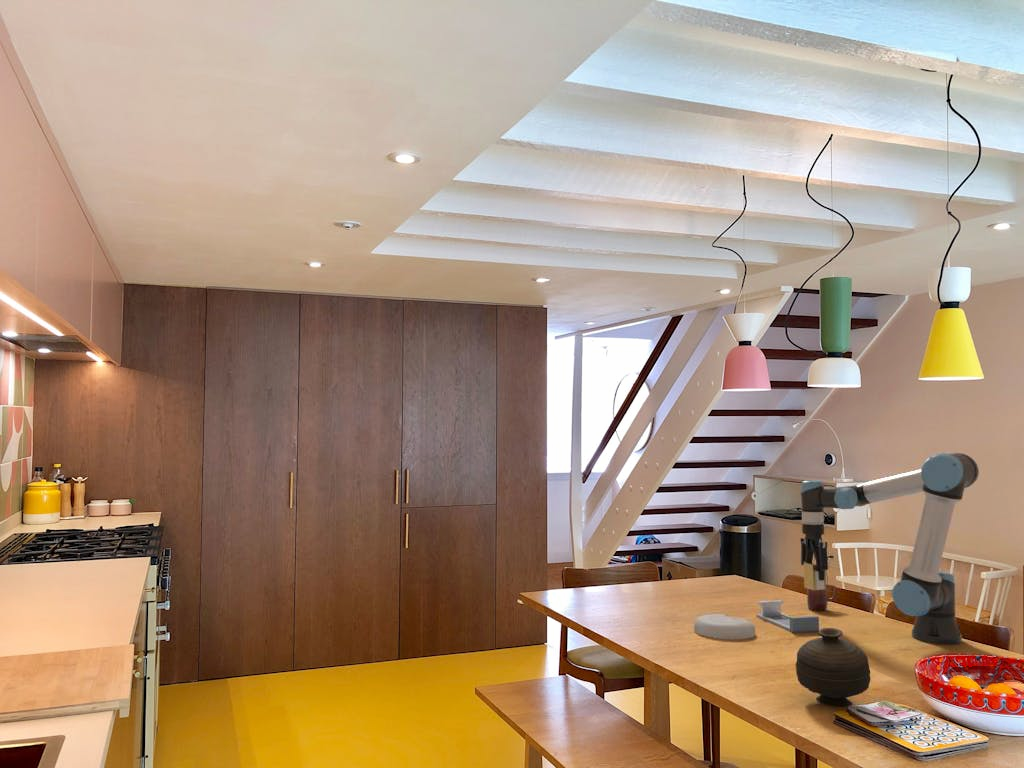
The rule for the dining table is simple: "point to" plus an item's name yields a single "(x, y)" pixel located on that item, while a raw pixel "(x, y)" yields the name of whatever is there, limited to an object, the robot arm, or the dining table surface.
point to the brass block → (811, 576)
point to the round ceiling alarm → (724, 627)
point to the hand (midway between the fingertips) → (815, 587)
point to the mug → (819, 598)
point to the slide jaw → (770, 607)
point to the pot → (833, 668)
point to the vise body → (794, 622)
